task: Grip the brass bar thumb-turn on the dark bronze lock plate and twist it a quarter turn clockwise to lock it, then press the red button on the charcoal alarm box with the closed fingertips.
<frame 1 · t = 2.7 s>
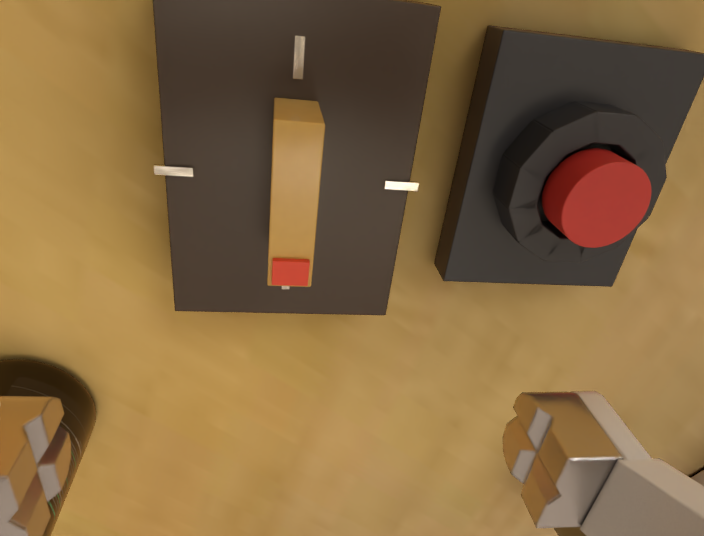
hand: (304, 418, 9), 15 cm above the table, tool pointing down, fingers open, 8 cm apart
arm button: (594, 198, 20), point 4 cm above the table, slide at 0.1 cm
lock plate: (290, 157, 22), on the table
alarm box: (548, 165, 24), on the table
thumb turn: (292, 194, 18), point 4 cm above the table, hinge at 0.0°
supplement bottle: (31, 401, 27), on the table
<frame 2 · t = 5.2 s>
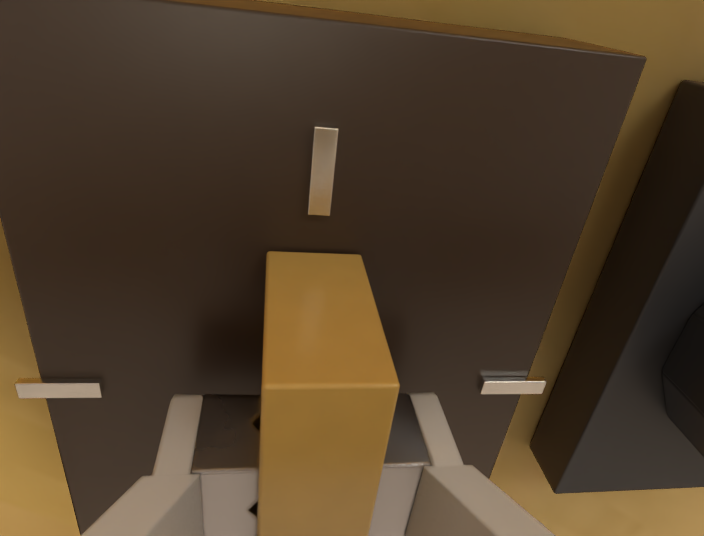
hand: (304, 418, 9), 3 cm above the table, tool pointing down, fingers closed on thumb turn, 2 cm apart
lock plate: (298, 310, 12), on the table
thumb turn: (308, 457, 8), point 4 cm above the table, hinge at 0.1°, touching gripper
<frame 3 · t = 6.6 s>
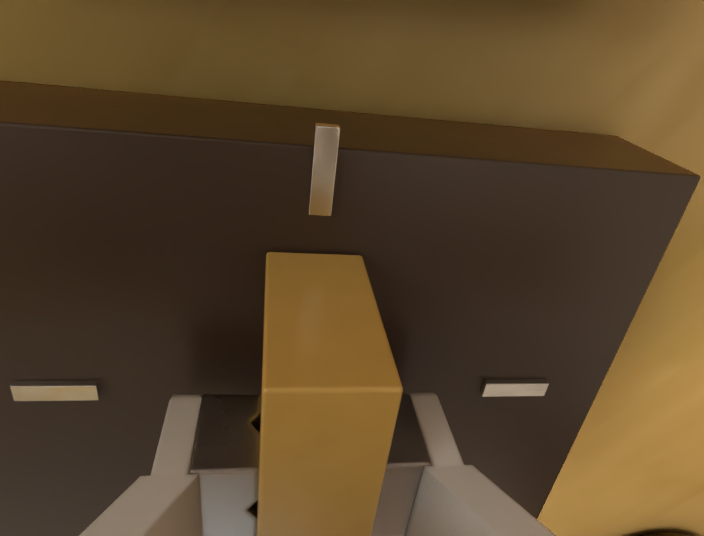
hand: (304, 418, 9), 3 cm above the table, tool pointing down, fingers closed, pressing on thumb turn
lock plate: (298, 312, 12), on the table
thumb turn: (308, 461, 8), point 4 cm above the table, hinge at -89.8°, touching gripper
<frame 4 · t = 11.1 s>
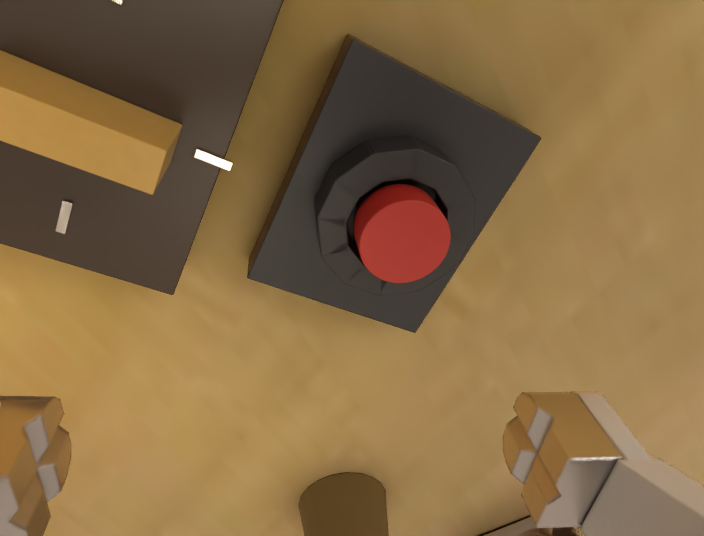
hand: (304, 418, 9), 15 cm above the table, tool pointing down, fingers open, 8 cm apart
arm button: (400, 233, 20), point 4 cm above the table, slide at 0.1 cm
lock plate: (110, 95, 20), on the table
alarm box: (382, 195, 23), on the table
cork: (342, 499, 35), on the table
thumb turn: (73, 122, 16), point 4 cm above the table, hinge at -89.9°
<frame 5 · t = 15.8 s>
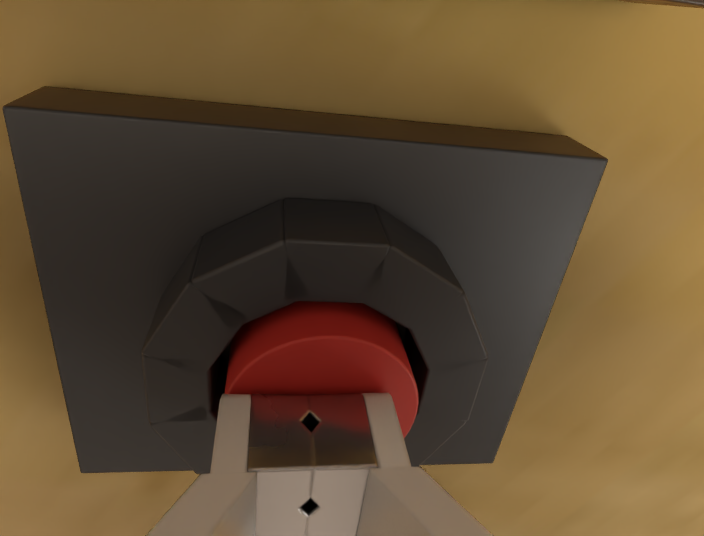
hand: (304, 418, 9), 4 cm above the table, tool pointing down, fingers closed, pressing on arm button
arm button: (319, 382, 10), point 3 cm above the table, slide at -0.6 cm, touching gripper
alarm box: (310, 293, 13), on the table
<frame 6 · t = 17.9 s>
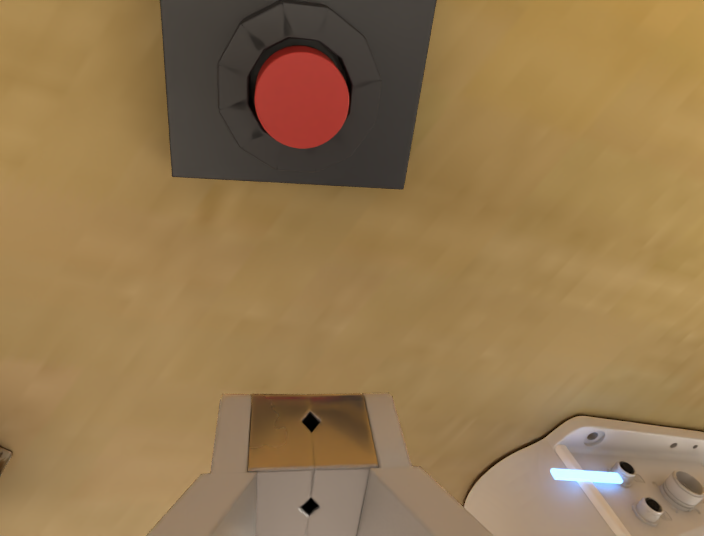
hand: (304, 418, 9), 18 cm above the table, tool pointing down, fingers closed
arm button: (301, 97, 20), point 4 cm above the table, slide at 0.1 cm
alarm box: (296, 78, 23), on the table
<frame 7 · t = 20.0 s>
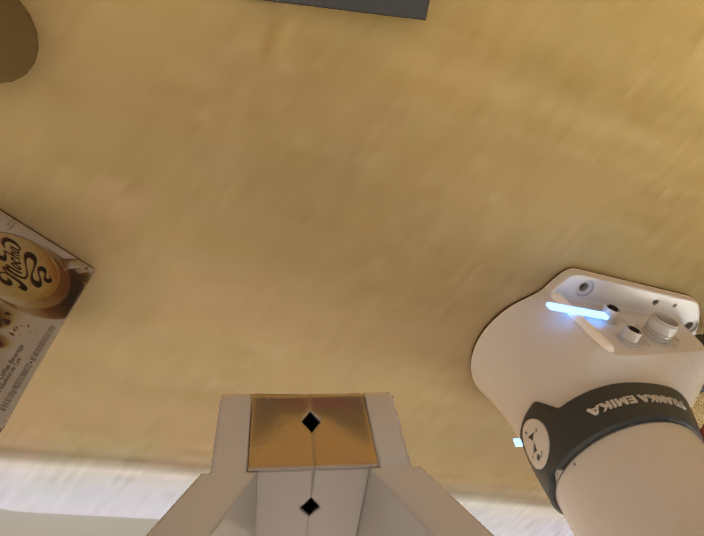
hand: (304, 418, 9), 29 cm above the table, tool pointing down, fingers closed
coffee box: (20, 261, 38), on the table
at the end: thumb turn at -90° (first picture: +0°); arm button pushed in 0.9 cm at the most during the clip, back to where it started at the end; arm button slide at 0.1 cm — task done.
